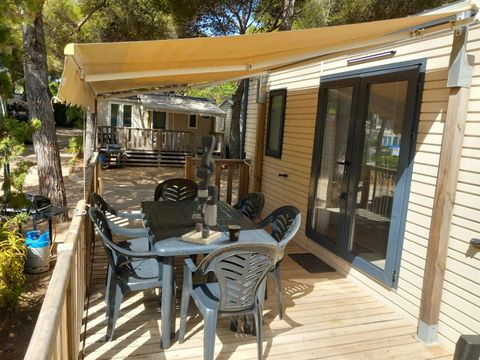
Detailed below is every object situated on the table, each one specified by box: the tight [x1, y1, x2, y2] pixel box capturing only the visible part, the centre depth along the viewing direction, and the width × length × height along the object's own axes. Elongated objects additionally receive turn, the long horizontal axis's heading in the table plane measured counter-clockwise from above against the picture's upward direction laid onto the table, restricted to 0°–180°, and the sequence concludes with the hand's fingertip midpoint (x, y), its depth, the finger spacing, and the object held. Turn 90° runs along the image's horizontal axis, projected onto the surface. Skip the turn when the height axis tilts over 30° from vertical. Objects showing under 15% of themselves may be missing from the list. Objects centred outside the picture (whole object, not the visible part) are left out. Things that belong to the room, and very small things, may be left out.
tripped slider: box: [195, 222, 204, 231], centre depth 286 cm, size 4×4×5 cm
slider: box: [202, 228, 210, 238], centre depth 270 cm, size 4×4×5 cm
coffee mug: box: [224, 225, 241, 243], centre depth 276 cm, size 12×9×10 cm
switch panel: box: [181, 229, 222, 245], centre depth 278 cm, size 24×20×3 cm
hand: (202, 217), depth 289 cm, fingers closed
